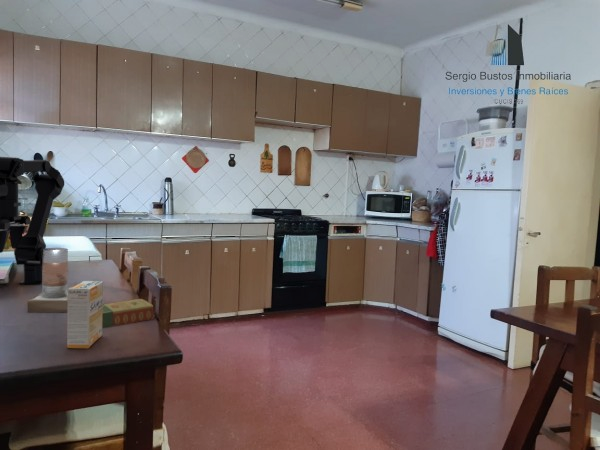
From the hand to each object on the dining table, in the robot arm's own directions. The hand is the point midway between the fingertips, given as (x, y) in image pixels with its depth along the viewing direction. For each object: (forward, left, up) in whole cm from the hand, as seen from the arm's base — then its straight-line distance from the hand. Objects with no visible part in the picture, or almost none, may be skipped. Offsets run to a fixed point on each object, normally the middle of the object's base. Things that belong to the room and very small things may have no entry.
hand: (7, 250), depth 135 cm
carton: (+28, +38, -14) cm, 49 cm away
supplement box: (+44, +35, -13) cm, 58 cm away
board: (+16, +19, -13) cm, 28 cm away
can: (+16, +19, -10) cm, 26 cm away
